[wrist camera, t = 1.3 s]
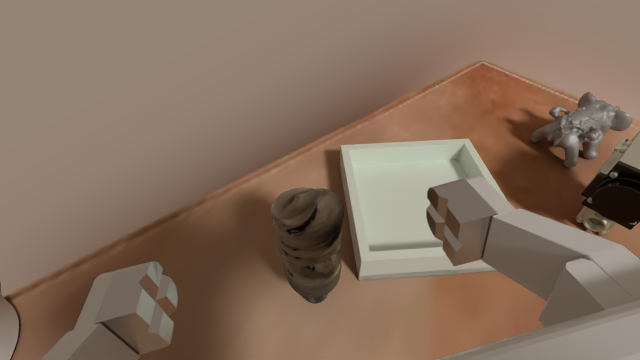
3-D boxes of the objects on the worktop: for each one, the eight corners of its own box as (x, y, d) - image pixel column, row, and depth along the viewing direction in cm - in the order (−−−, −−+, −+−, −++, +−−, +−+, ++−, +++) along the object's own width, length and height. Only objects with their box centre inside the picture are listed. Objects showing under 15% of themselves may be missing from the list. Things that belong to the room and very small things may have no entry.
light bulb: (277, 309, 33) (255, 218, 22) (296, 263, 36) (285, 165, 26) (331, 326, 32) (334, 239, 21) (345, 277, 35) (354, 180, 24)
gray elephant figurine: (519, 148, 51) (542, 107, 45) (555, 115, 55) (580, 74, 50) (583, 180, 46) (618, 139, 40) (616, 141, 51) (651, 100, 45)
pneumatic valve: (630, 207, 42) (709, 132, 33) (597, 261, 36) (682, 188, 28) (583, 184, 45) (645, 110, 36) (546, 231, 39) (609, 156, 31)
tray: (358, 280, 35) (361, 261, 32) (339, 166, 47) (340, 145, 45) (520, 269, 36) (537, 249, 33) (460, 159, 48) (468, 138, 45)
